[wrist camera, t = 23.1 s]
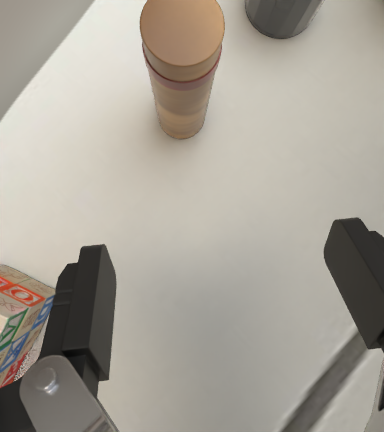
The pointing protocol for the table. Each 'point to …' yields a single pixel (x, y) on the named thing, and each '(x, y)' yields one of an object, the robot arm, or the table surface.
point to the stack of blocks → (20, 318)
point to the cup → (281, 16)
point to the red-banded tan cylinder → (182, 59)
